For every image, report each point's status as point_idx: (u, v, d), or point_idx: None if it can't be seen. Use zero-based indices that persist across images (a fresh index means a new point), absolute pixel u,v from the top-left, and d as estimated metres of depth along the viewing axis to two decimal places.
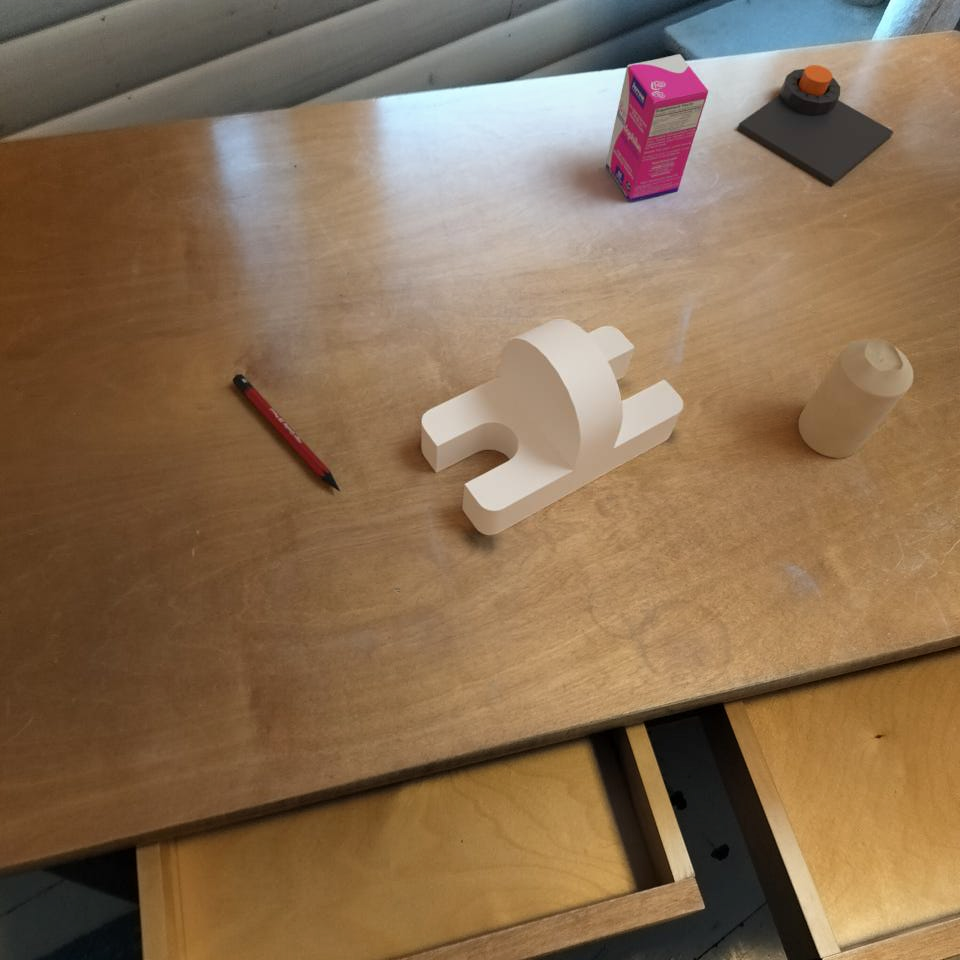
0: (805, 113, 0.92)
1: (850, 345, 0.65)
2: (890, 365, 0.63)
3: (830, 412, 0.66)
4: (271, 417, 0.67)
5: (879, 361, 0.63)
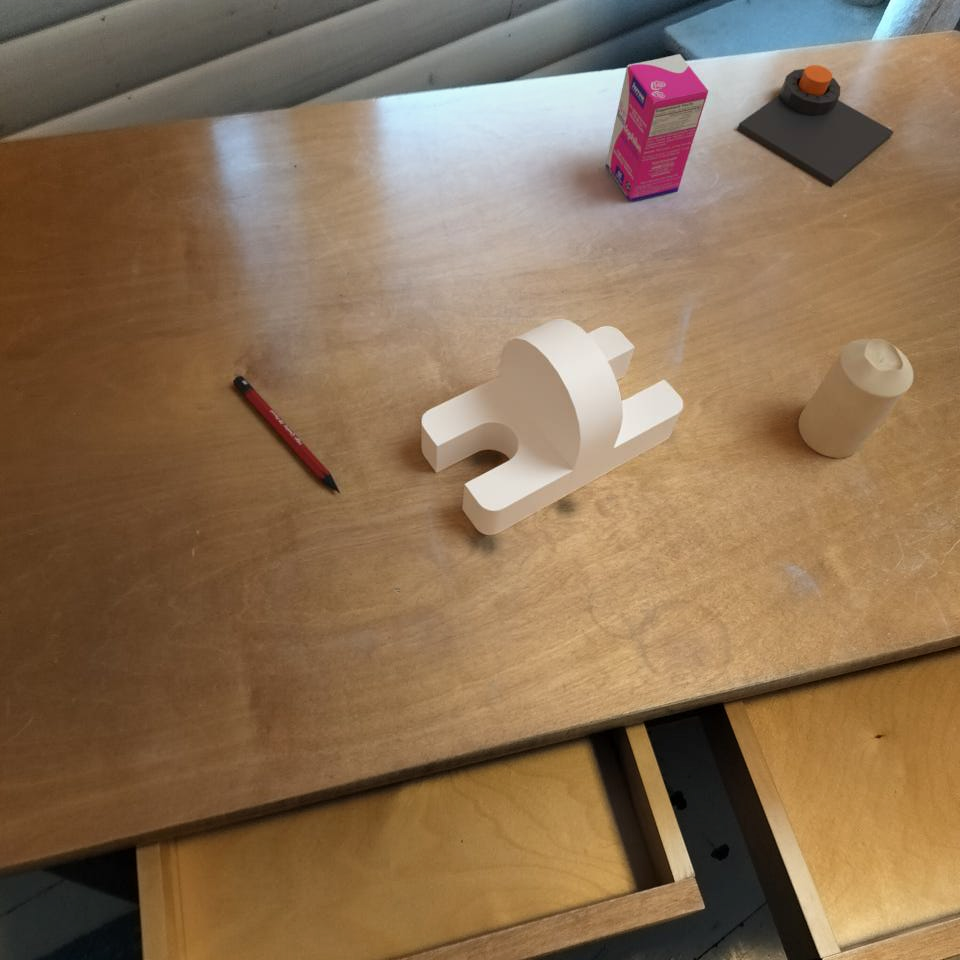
0: (805, 113, 0.92)
1: (850, 345, 0.65)
2: (890, 365, 0.63)
3: (830, 412, 0.66)
4: (271, 419, 0.67)
5: (879, 361, 0.63)
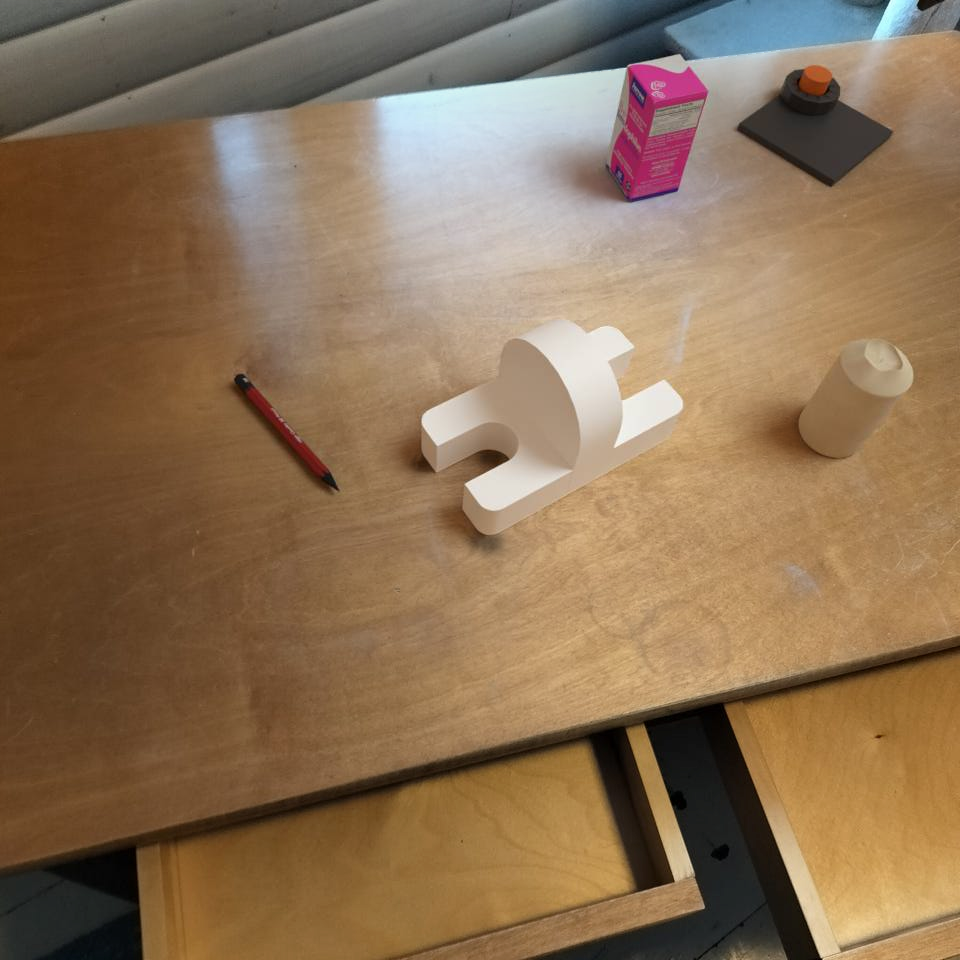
0: (805, 113, 0.92)
1: (850, 345, 0.65)
2: (890, 365, 0.63)
3: (830, 412, 0.66)
4: (272, 417, 0.67)
5: (879, 361, 0.63)
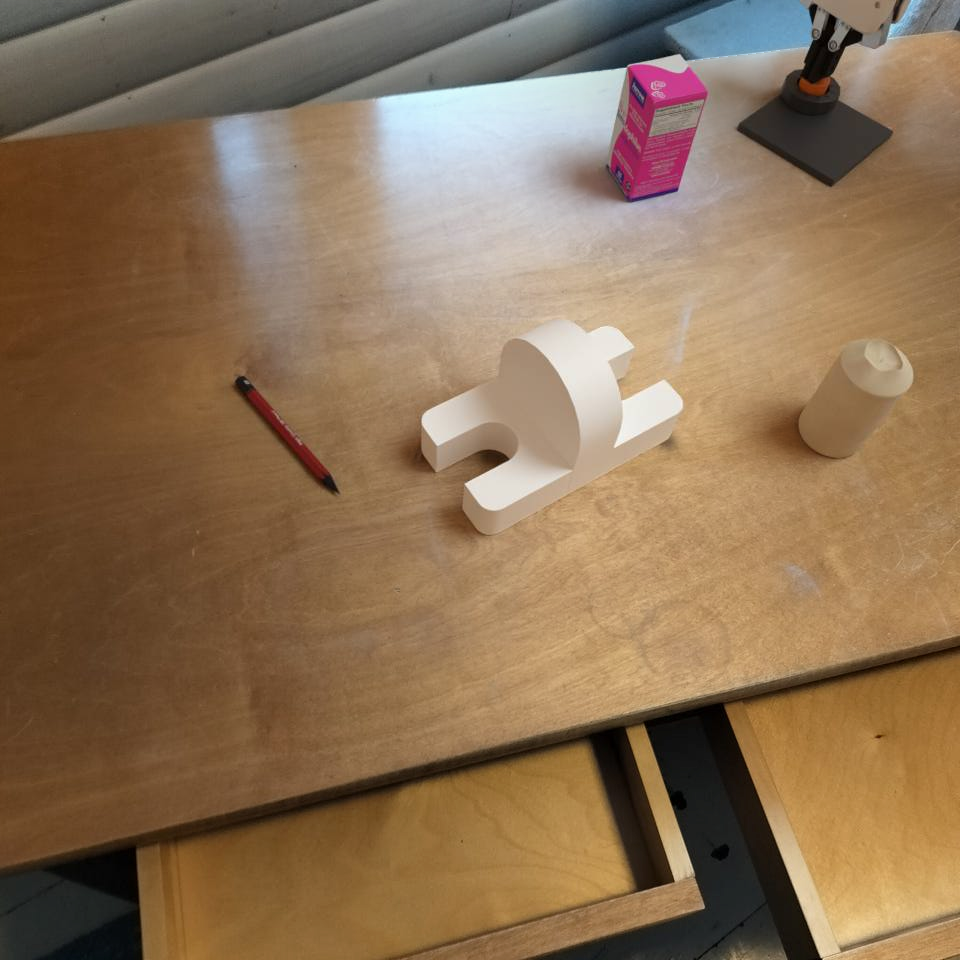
0: (805, 113, 0.92)
1: (850, 345, 0.65)
2: (890, 365, 0.63)
3: (830, 412, 0.66)
4: (272, 419, 0.68)
5: (879, 361, 0.63)
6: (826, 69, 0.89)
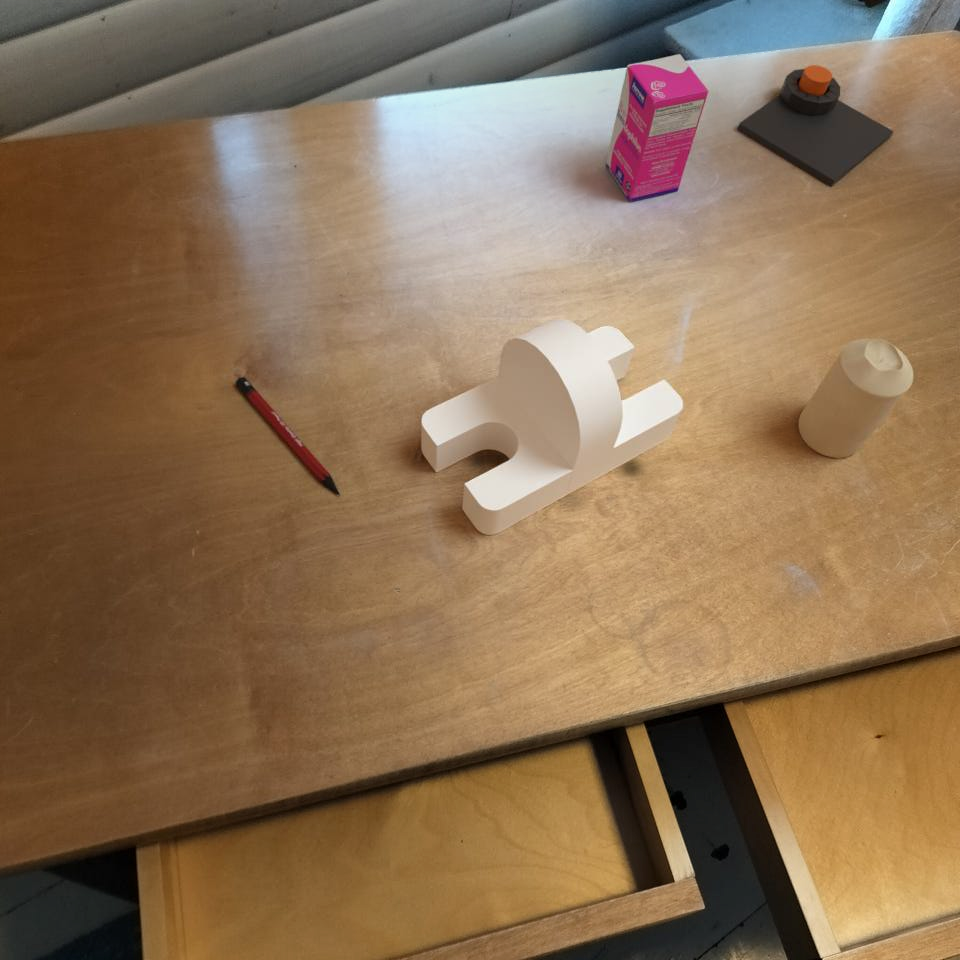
0: (805, 113, 0.92)
1: (850, 345, 0.65)
2: (890, 364, 0.63)
3: (830, 412, 0.66)
4: (273, 420, 0.68)
5: (879, 361, 0.63)
6: None
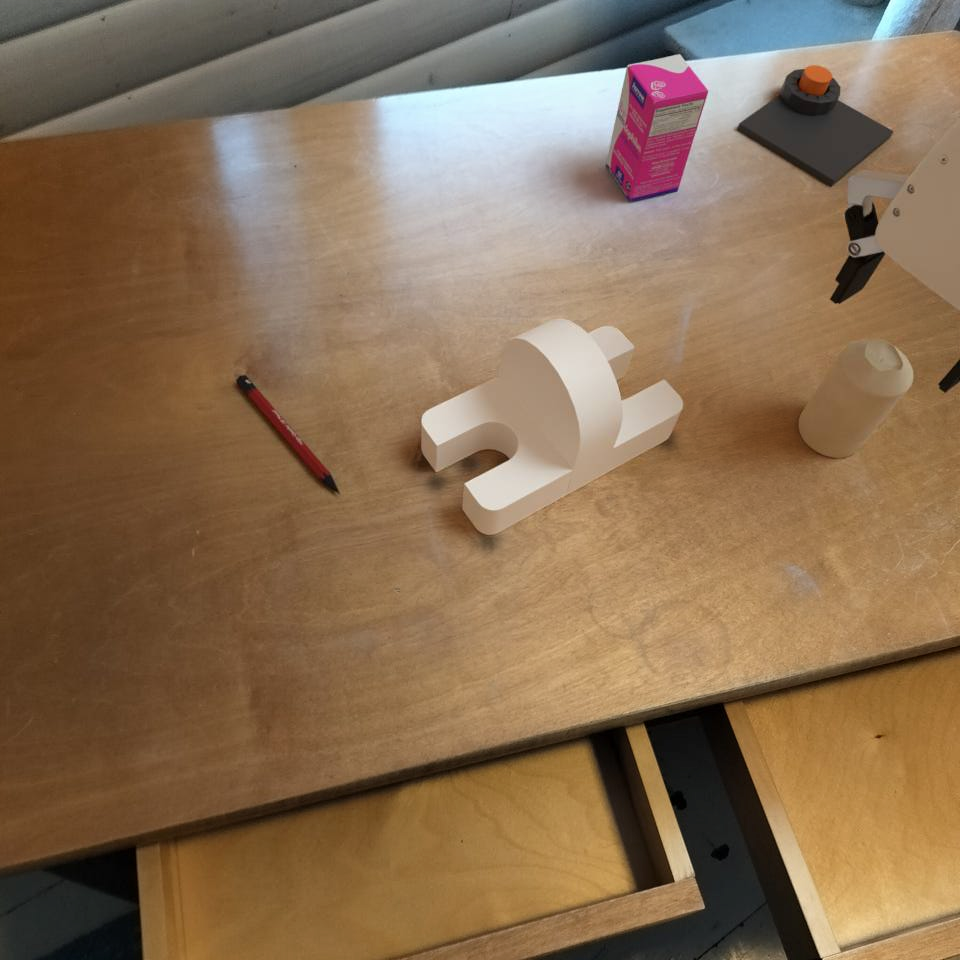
0: (805, 113, 0.92)
1: (850, 345, 0.65)
2: (890, 365, 0.63)
3: (830, 412, 0.66)
4: (273, 418, 0.68)
5: (879, 361, 0.63)
6: None
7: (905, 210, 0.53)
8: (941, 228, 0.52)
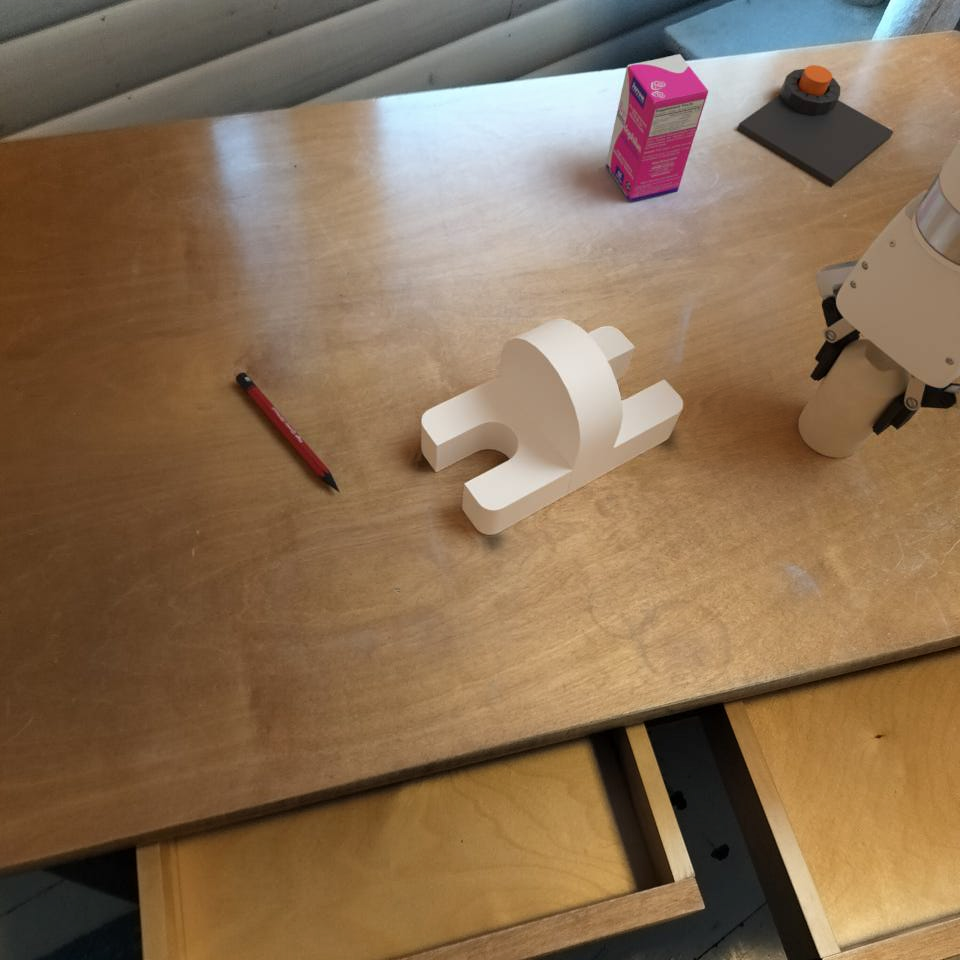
0: (805, 113, 0.92)
1: (850, 345, 0.65)
2: (890, 365, 0.63)
3: (830, 412, 0.66)
4: (273, 416, 0.67)
5: (879, 361, 0.63)
6: (899, 423, 0.64)
7: (860, 283, 0.59)
8: (892, 302, 0.57)
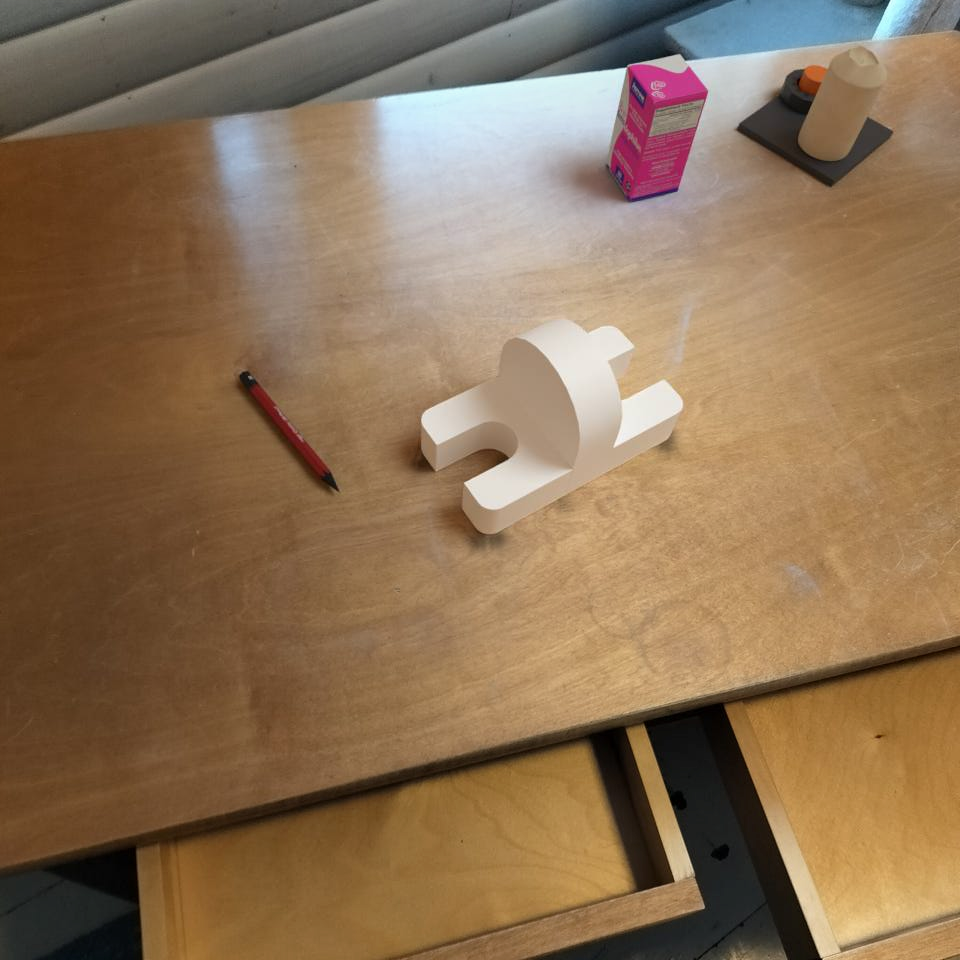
0: (805, 113, 0.92)
1: None
2: (869, 65, 0.82)
3: (823, 113, 0.85)
4: (275, 415, 0.67)
5: (860, 63, 0.82)
6: None
7: None
8: None
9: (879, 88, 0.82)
